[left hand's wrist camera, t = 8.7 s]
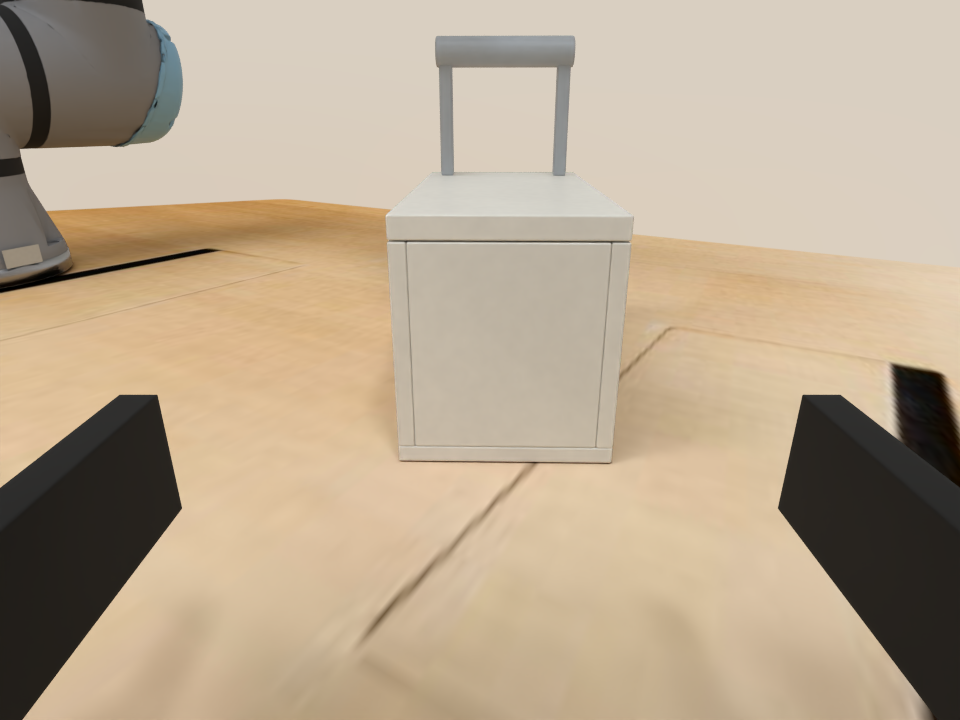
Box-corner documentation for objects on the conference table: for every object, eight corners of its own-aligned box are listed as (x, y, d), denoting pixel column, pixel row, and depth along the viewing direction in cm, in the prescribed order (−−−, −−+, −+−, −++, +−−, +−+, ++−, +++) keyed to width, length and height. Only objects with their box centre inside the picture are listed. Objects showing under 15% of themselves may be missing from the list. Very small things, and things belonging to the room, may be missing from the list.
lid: (432, 187, 39) (428, 40, 36) (573, 187, 38) (581, 39, 35) (386, 240, 22) (371, -25, 19) (632, 241, 22) (656, -26, 19)
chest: (434, 329, 41) (431, 189, 38) (566, 330, 41) (574, 189, 38) (399, 461, 26) (386, 242, 22) (611, 463, 26) (631, 243, 22)
